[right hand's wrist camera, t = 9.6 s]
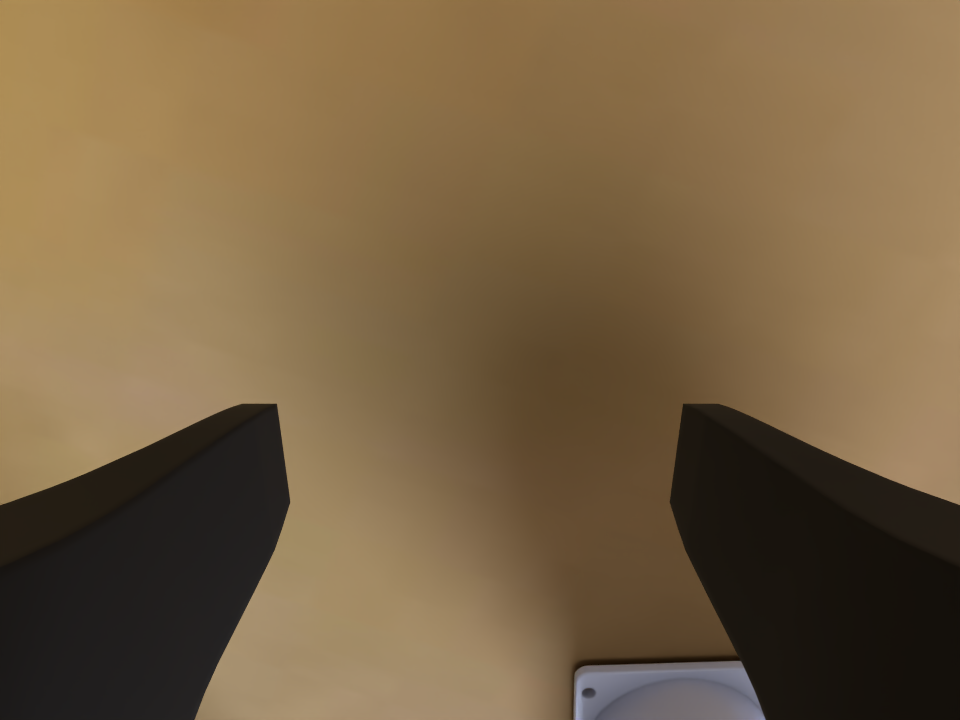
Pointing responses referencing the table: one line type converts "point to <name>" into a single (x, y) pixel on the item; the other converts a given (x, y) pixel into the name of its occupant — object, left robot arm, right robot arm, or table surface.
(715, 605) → the right robot arm
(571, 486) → the table surface
